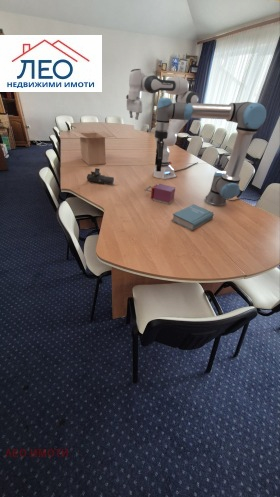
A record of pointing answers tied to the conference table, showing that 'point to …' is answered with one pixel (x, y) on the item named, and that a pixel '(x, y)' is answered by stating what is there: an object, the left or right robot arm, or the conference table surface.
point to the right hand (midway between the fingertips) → (157, 167)
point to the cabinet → (164, 193)
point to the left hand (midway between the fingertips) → (133, 118)
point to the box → (92, 146)
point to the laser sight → (99, 177)
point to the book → (192, 217)
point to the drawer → (151, 190)
